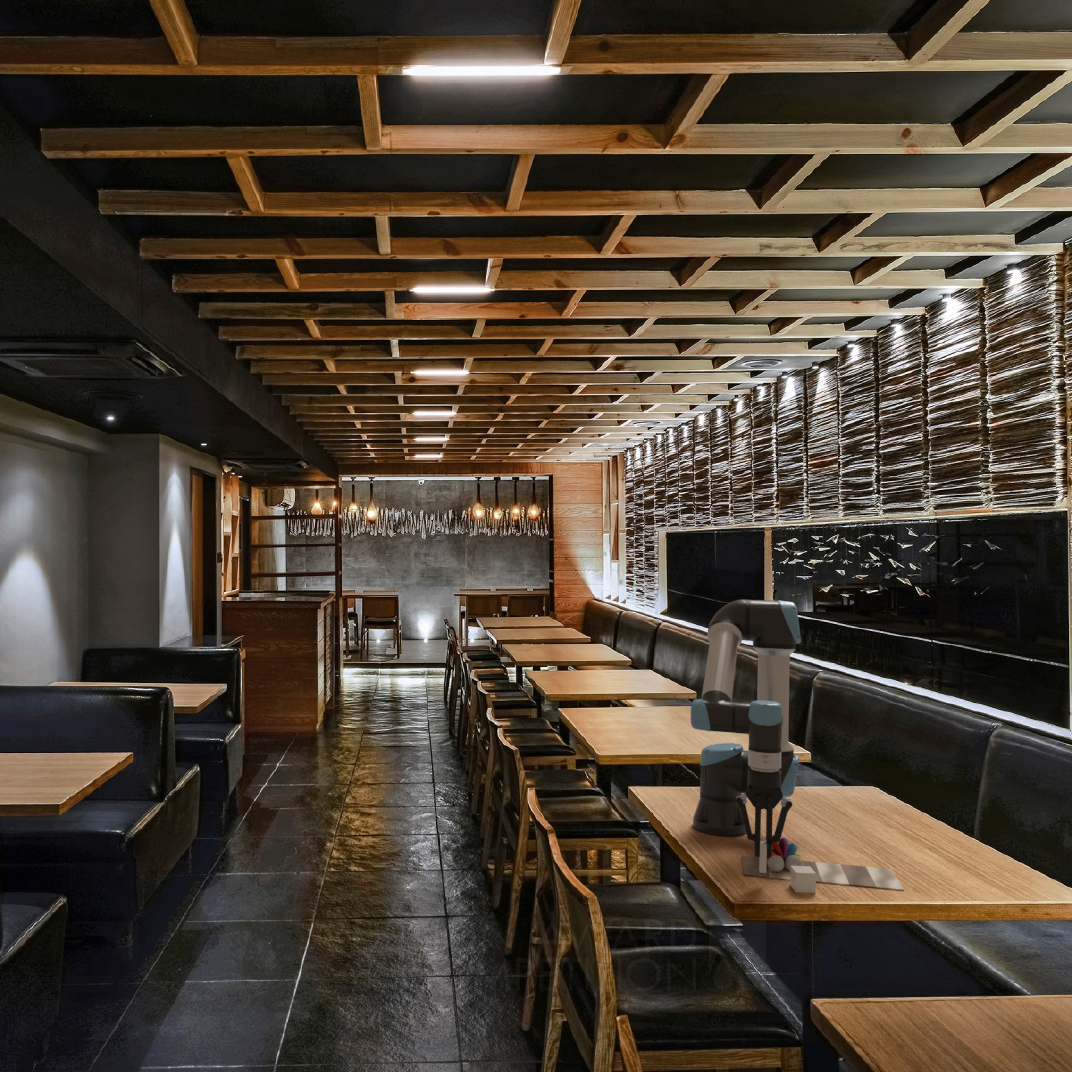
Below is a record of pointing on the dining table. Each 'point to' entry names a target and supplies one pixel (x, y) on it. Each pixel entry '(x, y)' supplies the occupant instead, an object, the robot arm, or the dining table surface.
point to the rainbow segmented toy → (783, 856)
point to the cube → (803, 879)
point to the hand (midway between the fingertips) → (762, 870)
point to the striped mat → (831, 874)
